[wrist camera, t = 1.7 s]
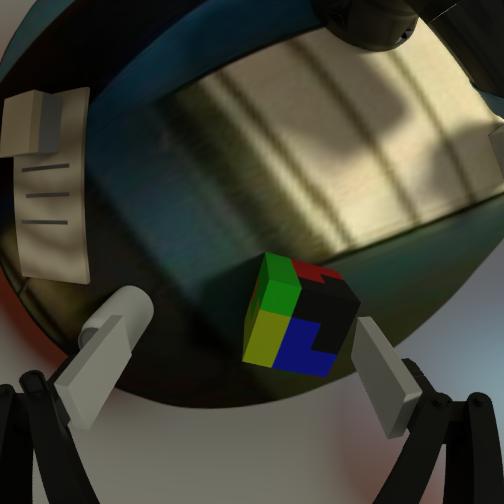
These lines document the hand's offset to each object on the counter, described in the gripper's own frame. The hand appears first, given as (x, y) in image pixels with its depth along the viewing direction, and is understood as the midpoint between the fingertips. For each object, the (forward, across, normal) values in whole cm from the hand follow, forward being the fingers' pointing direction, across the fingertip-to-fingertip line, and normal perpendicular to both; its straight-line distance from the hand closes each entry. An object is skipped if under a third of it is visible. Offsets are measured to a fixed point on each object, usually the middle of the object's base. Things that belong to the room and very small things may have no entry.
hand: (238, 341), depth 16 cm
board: (+23, -29, +8) cm, 38 cm away
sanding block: (+22, -29, +17) cm, 40 cm away
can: (+23, -16, -9) cm, 30 cm away
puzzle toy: (+24, +6, -8) cm, 25 cm away
